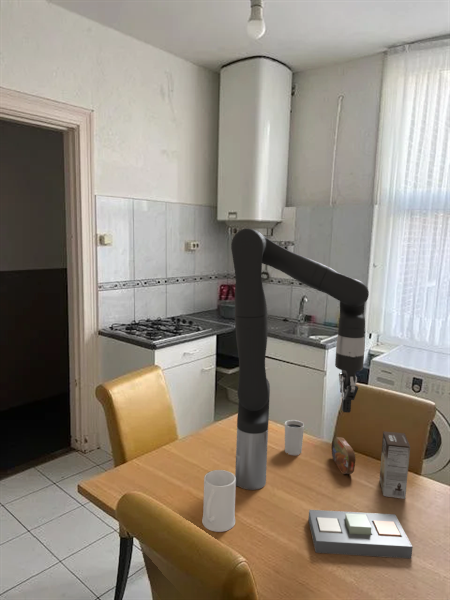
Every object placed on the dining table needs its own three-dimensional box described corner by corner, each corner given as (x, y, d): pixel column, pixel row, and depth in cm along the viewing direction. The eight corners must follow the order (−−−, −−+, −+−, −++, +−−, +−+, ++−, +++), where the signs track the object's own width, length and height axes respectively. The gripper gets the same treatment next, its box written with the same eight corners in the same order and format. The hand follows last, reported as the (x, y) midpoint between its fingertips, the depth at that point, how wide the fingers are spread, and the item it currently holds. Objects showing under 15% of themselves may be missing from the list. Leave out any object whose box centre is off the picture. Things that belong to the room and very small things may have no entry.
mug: (219, 544, 104) (220, 497, 102) (189, 532, 107) (189, 487, 106) (240, 517, 114) (242, 474, 112) (212, 507, 118) (213, 466, 116)
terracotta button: (378, 545, 104) (379, 533, 104) (372, 532, 109) (373, 520, 109) (399, 547, 104) (400, 534, 104) (392, 533, 109) (393, 521, 109)
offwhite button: (319, 542, 105) (320, 530, 105) (316, 529, 110) (317, 517, 110) (340, 543, 105) (341, 531, 104) (336, 530, 110) (337, 518, 109)
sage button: (349, 538, 104) (350, 526, 104) (344, 525, 109) (345, 513, 109) (370, 539, 104) (371, 527, 104) (364, 526, 109) (365, 514, 109)
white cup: (304, 456, 148) (305, 428, 146) (284, 455, 148) (286, 427, 147) (301, 447, 154) (302, 420, 153) (282, 446, 154) (283, 419, 153)
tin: (330, 455, 149) (331, 432, 148) (339, 455, 149) (340, 432, 148) (346, 479, 134) (347, 453, 133) (355, 479, 134) (357, 453, 133)
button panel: (315, 552, 102) (316, 540, 101) (308, 520, 114) (309, 509, 113) (411, 558, 101) (412, 546, 100) (394, 525, 112) (395, 514, 112)
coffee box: (378, 479, 134) (382, 430, 132) (400, 482, 133) (404, 432, 131) (383, 496, 125) (387, 443, 123) (406, 499, 124) (411, 446, 122)
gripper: (331, 345, 127) (328, 402, 129) (341, 357, 114) (337, 420, 116) (357, 346, 127) (353, 403, 129) (370, 358, 114) (365, 421, 116)
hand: (345, 411), depth 123 cm, fingers closed
